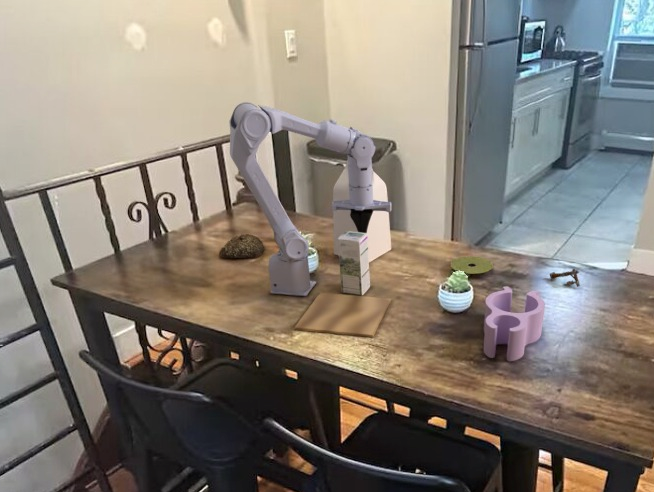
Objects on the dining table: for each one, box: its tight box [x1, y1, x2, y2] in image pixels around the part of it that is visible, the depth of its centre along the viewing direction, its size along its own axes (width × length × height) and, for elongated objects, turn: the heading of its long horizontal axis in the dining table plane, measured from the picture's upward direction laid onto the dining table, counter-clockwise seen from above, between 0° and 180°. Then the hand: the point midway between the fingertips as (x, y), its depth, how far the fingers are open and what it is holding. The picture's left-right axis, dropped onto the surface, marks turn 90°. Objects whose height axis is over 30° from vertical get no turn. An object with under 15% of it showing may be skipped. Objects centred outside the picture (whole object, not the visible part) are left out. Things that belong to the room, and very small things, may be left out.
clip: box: [483, 285, 546, 362], centre depth 127 cm, size 20×12×7 cm, turn 160°
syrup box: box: [338, 231, 371, 296], centre depth 146 cm, size 6×6×14 cm
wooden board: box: [293, 292, 392, 338], centre depth 139 cm, size 18×18×1 cm
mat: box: [450, 256, 494, 275], centre depth 158 cm, size 11×11×2 cm
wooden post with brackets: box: [549, 268, 581, 288], centre depth 151 cm, size 2×8×4 cm, turn 44°
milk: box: [332, 159, 392, 263], centre depth 164 cm, size 12×12×26 cm
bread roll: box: [218, 233, 265, 259], centre depth 171 cm, size 13×12×5 cm
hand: (363, 238), depth 151 cm, fingers closed
